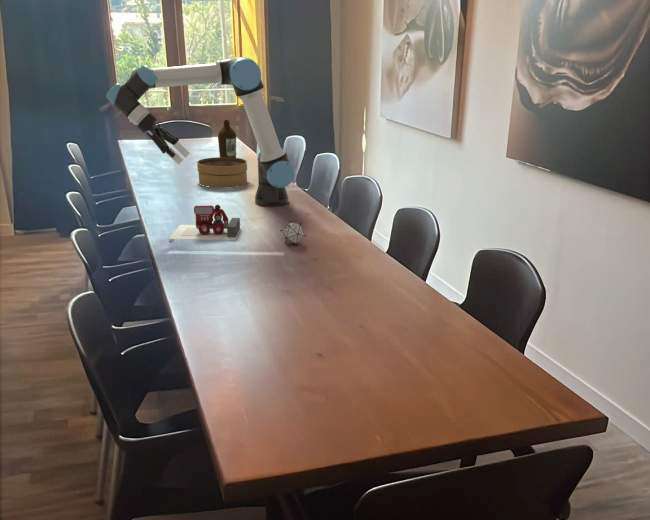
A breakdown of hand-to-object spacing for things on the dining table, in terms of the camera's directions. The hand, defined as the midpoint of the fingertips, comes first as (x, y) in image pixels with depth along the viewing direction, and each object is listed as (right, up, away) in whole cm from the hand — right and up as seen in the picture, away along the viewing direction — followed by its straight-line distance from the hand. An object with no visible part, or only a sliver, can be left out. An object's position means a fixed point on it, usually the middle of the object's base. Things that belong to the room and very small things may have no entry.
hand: (184, 158), depth 244 cm
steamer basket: (+3, -1, +73) cm, 73 cm away
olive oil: (-2, +18, +124) cm, 125 cm away
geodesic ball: (+44, -34, -19) cm, 58 cm away
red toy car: (+13, -29, -11) cm, 34 cm away
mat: (+11, -30, -10) cm, 34 cm away
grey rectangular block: (+21, -29, -11) cm, 38 cm away
